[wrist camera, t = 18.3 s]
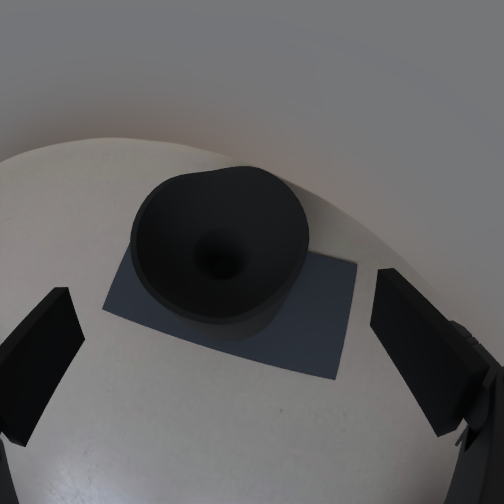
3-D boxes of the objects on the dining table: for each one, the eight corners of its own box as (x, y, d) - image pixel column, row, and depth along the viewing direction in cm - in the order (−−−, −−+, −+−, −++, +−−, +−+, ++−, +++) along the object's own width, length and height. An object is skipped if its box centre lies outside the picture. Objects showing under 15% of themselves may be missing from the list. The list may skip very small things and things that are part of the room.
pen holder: (248, 370, 22) (246, 360, 13) (150, 305, 24) (97, 257, 15) (307, 271, 26) (337, 206, 17) (213, 219, 28) (199, 140, 18)
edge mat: (356, 265, 26) (357, 264, 26) (334, 379, 22) (335, 379, 22) (145, 211, 28) (144, 210, 28) (102, 309, 24) (101, 308, 24)
